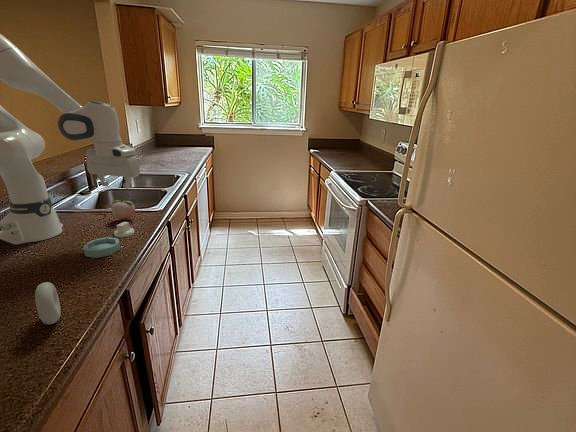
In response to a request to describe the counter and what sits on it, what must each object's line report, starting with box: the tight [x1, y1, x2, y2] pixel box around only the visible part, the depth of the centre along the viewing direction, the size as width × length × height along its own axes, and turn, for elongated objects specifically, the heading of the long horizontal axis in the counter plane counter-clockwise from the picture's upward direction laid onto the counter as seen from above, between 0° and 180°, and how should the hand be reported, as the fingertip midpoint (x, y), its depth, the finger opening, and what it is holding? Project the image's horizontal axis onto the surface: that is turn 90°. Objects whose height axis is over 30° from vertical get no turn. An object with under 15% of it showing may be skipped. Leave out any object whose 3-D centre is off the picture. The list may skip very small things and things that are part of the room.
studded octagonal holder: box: [83, 236, 121, 259], centre depth 110 cm, size 11×11×2 cm
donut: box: [34, 281, 62, 326], centre depth 74 cm, size 10×4×10 cm, turn 32°
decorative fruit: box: [111, 198, 136, 221], centre depth 135 cm, size 9×8×10 cm
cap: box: [113, 221, 135, 239], centre depth 123 cm, size 7×7×4 cm
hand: (116, 187), depth 117 cm, fingers open, 8 cm apart
